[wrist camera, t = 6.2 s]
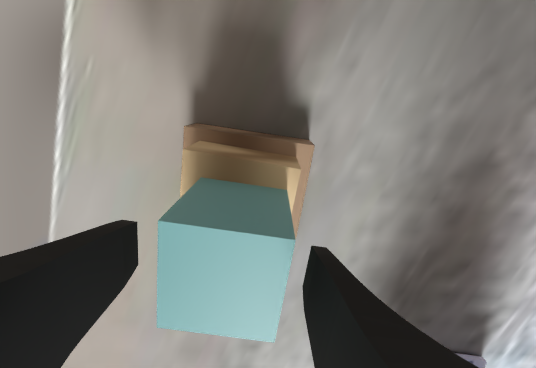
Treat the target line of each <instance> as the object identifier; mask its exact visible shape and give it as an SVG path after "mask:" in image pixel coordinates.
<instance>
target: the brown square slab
mask: <svg viewBox="0 0 536 368" xmlns="http://www.w3.org/2000/svg"><path fill="white" fill-rule="evenodd" d="M198 141H205V142H211V143H217V144H223V145H228V146H234V147H240V148H246V149H252V150H258V151H263V152H269V153H275V154H281V155H287V156H293V157H296V158H297V160H298V163H299V165H300V167H301V173H300V178H299V182H298V187H297V191H296V196H295V201H294V205H293V210H292V214H291V215H292V221H293V227H294V233H295V239H296V236H297V231H298V226H299V221H300V216H301V211H302V206H303V201H304V196H305V191H306V186H307V181H308V176H309V171H310V166H311V161H312V156H313V151H314V146H315V145H314V144H313V143H312V142H311V141H310V140H306V139H300V138H293V137H286V136H279V135H273V134H266V133H259V132H252V131H246V130H239V129H232V128H226V127H219V126H212V125H205V124H199V123H196V124H191V125H187V126H184V142H183V149H184V148H186V147H188V146H190V145H192V144H194V143H196V142H198Z"/></svg>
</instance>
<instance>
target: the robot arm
mask: <svg viewBox="0 0 536 368" xmlns="http://www.w3.org/2000/svg"><path fill="white" fill-rule="evenodd" d="M137 266H138V238H137V222H134V221H127V220H119V221H115V222H112V223H108V224H105V225H102V226H99V227H96V228H93V229H90V230H87V231H84V232H81V233H78V234H75V235H72V236H69V237H66V238H63V239H60V240H57V241H53V242H50V243H47V244H44V245H41V246H38V247H34V248H31V249H27V250H24V251H20V252H17V253H13V254H9V255H6V256H2V257H0V368H61V366H62V365H63V364H64V362H65V361H66V359H67V358H68V356H69V355H70V353H71V352H72V351H73V349H74V348H75V347H76V346H77V344H78V343H79V342H80V340H81V339H82V338H83V337H84V335H85V334H86V333H87V332H88V331H89V329H90V328H91V327H92V326H93V325H94V323H95V322H96V321H97V320H98V318H99V317H100V316H101V315H102V314H103V312H104V311H105V310H106V309H107V308H108V306H109V305H110V304H111V303H112V302H113V300H114V299H115V298H116V297H117V295H118V294H119V293H120V292H121V290H122V289H123V288H124V287H125V285H126V284H127V282H128V280H129V279H130V277H131V276H132V274H133V272H134V271H135V269H136V267H137ZM303 301H304V312H305V318H306V323H307V329H308V334H309V340H310V345H311V350H312V356H313V361H314V366H315V368H485V366H486V364H487V362H486V360H485V359H484V358H483V357H481V356H473V355H466V354H458V353H454V352H452V351H450V350H449V349H447V348H446V347H444V346H442V345H441V344H439V343H438V342H436V341H435V340H433V339H432V338H430V337H429V336H427V335H426V334H424V333H423V332H422V331H420V330H419V329H417V328H416V327H414V326H413V325H412V324H410V323H409V322H407V321H406V320H405V319H403V318H402V317H401V316H399V315H398V314H397V313H396V312H394V311H393V310H392V309H391V308H389V307H388V306H387V305H386V304H384V303H383V302H382V301H381V300H380V299H378V298H377V297H376V296H375V295H374V294H373V293H372V292H371V291H369V290H368V289H367V288H366V287H365V286H364V285H363V284H362V283H361V282H360V281H359V280H358V279H357V278H356V277H355V276H354V275H353V274H352V273H351V272H350V271H349V270H348V269H347V268H346V267H345V266H344V265H343V264H342V263H341V262H340V261H339V260H338V259H337V258H336V257H335V256H334V255H333V254H332V253H331V252H330V251H329V250H328V249H327V248H325V247H318V246H311V251H310V255H309V260H308V264H307V269H306V274H305V278H304V283H303Z"/></svg>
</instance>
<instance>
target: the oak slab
mask: <svg viewBox="0 0 536 368" xmlns="http://www.w3.org/2000/svg"><path fill="white" fill-rule="evenodd" d="M300 173H301V167H300V165H299V163H298V160H297V158H296V157H293V156H287V155H281V154H275V153H269V152H263V151H258V150H252V149H246V148H240V147H234V146H228V145H223V144H217V143H211V142H205V141H198V142H196V143H194V144H192V145H190V146H188V147H186V148H184V149H183V157H182V173H181V190H180V198H181V197H182V196H183V195H184V194H185V193H186V192H187V191H188V190H189V189H190V188H191V187H192V186H193V185H194V184H195V183H196V182H197V181H198V180H199V179H200V178H201V177H202V178H209V179H216V180H223V181H230V182H236V183H243V184H250V185H257V186H264V187H271V188H277V189H284V190H287V192H288V198H289V204H290V209H291V214H292V210H293V205H294V201H295V196H296V191H297V187H298V182H299V178H300Z"/></svg>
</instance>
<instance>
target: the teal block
mask: <svg viewBox="0 0 536 368" xmlns="http://www.w3.org/2000/svg"><path fill="white" fill-rule="evenodd" d="M295 241H296V239H295V233H294V227H293V221H292V215H291V209H290V204H289V198H288V192H287V190H284V189H277V188H271V187H264V186H257V185H250V184H243V183H236V182H230V181H223V180H216V179H209V178H202V177H201V178H200V179H199V180H198V181H197V182H196V183H195V184H194V185H193V186H192V187H191V188H190V189H189V190H188V191H187V192H186V193H185V194H184V195H183V196H182V197H181V198H180V199H179V200H178V201H177V202H176V203H175V204H174V205H173V206H172V207H171V208H170V209H169V210H168V211H167V212H166V213H165V214H164V215H163V216H162V217H161V218H160V219H159V220H158V266H157V328H165V329H173V330H180V331H188V332H196V333H204V334H211V335H219V336H227V337H235V338H243V339H250V340H258V341H266V342H275V338H276V333H277V328H278V323H279V318H280V313H281V309H282V304H283V299H284V294H285V289H286V284H287V280H288V275H289V270H290V265H291V260H292V255H293V250H294V246H295Z"/></svg>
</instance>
